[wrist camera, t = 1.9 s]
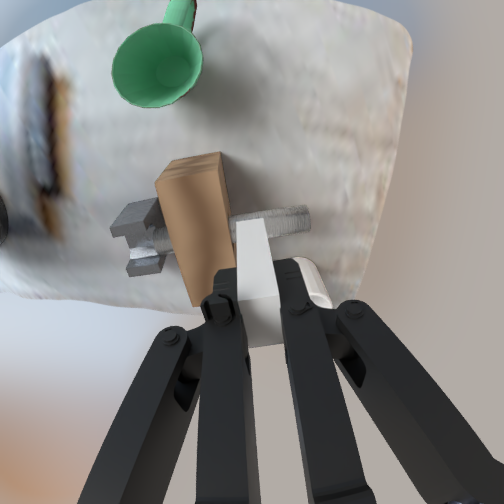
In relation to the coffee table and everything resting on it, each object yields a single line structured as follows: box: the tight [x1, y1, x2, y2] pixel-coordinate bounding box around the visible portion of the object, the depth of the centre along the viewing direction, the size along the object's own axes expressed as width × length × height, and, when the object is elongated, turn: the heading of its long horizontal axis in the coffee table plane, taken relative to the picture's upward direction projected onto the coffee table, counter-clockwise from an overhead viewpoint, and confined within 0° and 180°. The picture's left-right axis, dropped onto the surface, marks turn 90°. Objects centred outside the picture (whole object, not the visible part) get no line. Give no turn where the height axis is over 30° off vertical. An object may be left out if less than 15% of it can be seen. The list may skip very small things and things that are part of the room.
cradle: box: [110, 198, 167, 277], centre depth 38 cm, size 5×8×8 cm, turn 8°
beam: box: [155, 152, 237, 307], centre depth 38 cm, size 7×18×10 cm, turn 8°
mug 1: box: [111, 0, 203, 108], centre depth 25 cm, size 15×10×10 cm
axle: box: [153, 205, 311, 255], centre depth 36 cm, size 20×4×4 cm, turn 98°
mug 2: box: [293, 257, 333, 309], centre depth 45 cm, size 8×12×10 cm
